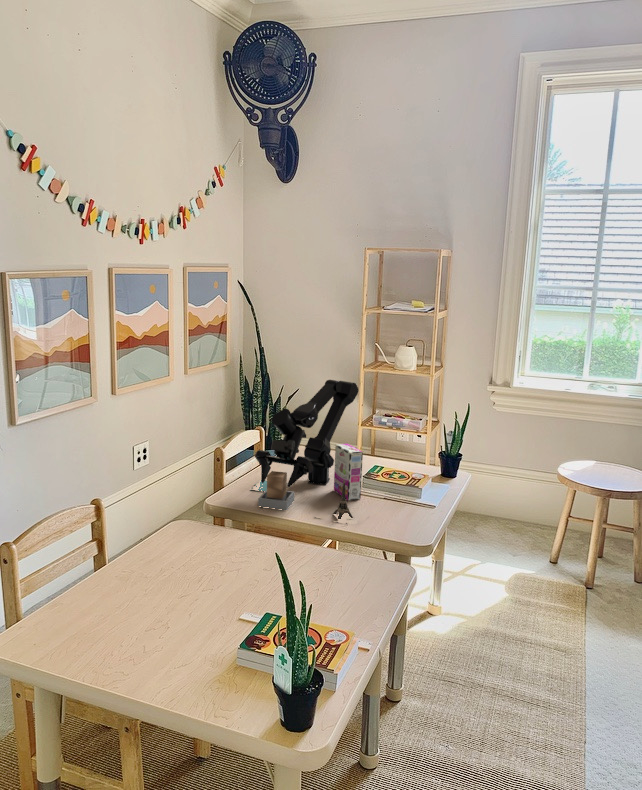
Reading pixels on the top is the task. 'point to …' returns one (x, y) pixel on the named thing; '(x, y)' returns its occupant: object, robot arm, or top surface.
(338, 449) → the candy bar box
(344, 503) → the eiffel tower figurine
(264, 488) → the mat
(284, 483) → the block
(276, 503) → the crate
